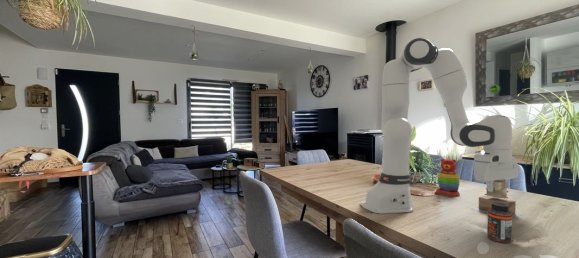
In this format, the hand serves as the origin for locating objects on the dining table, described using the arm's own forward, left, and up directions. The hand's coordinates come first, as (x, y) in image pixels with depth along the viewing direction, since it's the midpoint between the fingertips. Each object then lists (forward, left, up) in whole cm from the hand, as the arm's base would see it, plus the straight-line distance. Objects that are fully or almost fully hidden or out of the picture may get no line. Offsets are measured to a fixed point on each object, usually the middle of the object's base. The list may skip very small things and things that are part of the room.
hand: (496, 190), depth 103 cm
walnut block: (0, 0, -8) cm, 8 cm away
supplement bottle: (-22, -15, -10) cm, 28 cm away
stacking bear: (+8, +28, -10) cm, 31 cm away
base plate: (0, 0, -10) cm, 10 cm away
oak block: (0, 0, -2) cm, 2 cm away
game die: (+17, +11, -10) cm, 23 cm away
